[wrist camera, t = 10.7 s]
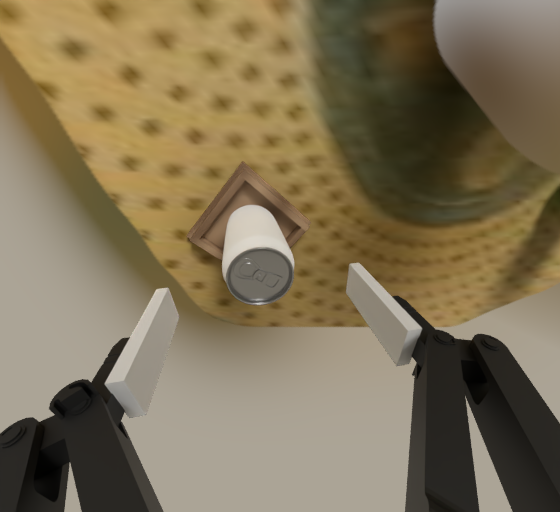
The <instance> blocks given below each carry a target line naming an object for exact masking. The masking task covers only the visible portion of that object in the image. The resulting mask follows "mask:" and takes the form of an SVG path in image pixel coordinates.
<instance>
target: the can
mask: <svg viewBox="0 0 560 512" xmlns="http://www.w3.org/2000/svg"><path fill="white" fill-rule="evenodd" d="M222 273H223V277H224V280H225V282H226V284H227V287H228V289H229V291H230V292H231V294H232V295H233V296H234V297H235V298H236V299H238V300H239V301H241V302H243V303H246V304H250V305H265V304H269V303H272V302H275V301H277V300H278V299H280V298H281V297H283V296H284V295H285V294H286V293H287V292H288V290H289V289H290V287H291V285H292V283H293V279H294V259H293V255H292V252H291V250H290V248H289V246H288V244H287V242H286V240H285V238H284V236H283V234H282V232H281V230H280V228H279V226H278V224H277V222H276V220H275V218H274V217H273V215H272V214H271V213H270V212H269V211H268V210H267V209H265V208H263V207H261V206H258V205H246V206H243V207H240V208H238V209H237V210H235V211H234V212H233V213H232V214H231V216H230V218H229V220H228V223H227V228H226V235H225V242H224V250H223V259H222Z"/></svg>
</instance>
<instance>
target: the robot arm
mask: <svg viewBox="0 0 560 512" xmlns="http://www.w3.org/2000/svg"><path fill="white" fill-rule="evenodd" d="M346 294H347V295H348V296H349V298H350V299H351V301H352V302H353V304H354V305H355V307H356V308H357V309H358V311H359V312H360V314H361V315H362V317H363V318H364V320H365V321H366V323H367V324H368V325H369V327H370V328H371V330H372V331H373V332H374V334H375V336H376V337H377V338H378V340H379V341H380V343H381V344H382V346H383V347H384V348H385V350H386V351H387V353H388V354H389V356H390V357H391V359H392V360H393V362H394V363H395V364H396V366H400V365H405V364H409V363H410V360H411V358H412V357H413V358H414V360H415V361H416V362H417V364H416V366H415V368H414V371H413V374H412V375H413V376H414V375H415V378H414V392H413V406H412V407H413V408H412V422H411V435H410V449H409V464H408V478H407V492H406V507H405V512H479V504H478V496H477V488H476V480H475V472H474V464H473V456H472V448H471V440H470V432H469V423H468V416H467V407H466V399H465V396H466V398H467V401H468V403H469V406H470V408H471V411H472V413H473V415H474V418H475V420H476V423H477V425H478V428H479V430H480V432H481V435H482V437H483V440H484V442H485V445H486V447H487V450H488V452H489V455H490V457H491V460H492V462H493V464H494V467H495V469H496V472H497V474H498V477H499V479H500V482H501V484H502V486H503V489H504V492H505V494H506V496H507V499H508V501H509V504H510V506H511V509H512V511H513V512H560V423H559V422H558V420H557V419H556V417H555V416H554V415H553V413H552V412H551V410H550V409H549V407H548V406H547V404H546V403H545V401H544V400H543V399H542V397H541V396H540V394H539V393H538V391H537V390H536V388H535V387H534V386H533V384H532V383H531V381H530V380H529V378H528V377H527V375H526V374H525V373H524V371H523V370H522V368H521V367H520V365H519V364H518V363H517V361H516V360H515V358H514V357H513V355H512V354H511V353H510V351H509V350H508V348H507V347H506V346H505V345H504V344H503V343H502V342H501V341H499V340H498V339H496V338H494V337H491V336H489V335H485V334H477V335H475V336H474V337H473V339H472V340H461V339H455V338H454V337H453V336H451V335H450V334H449V333H447V332H444V331H440V330H435V329H434V328H433V327H432V326H431V325H430V324H429V323H428V322H427V321H426V320H425V319H424V318H423V317H422V316H421V315H420V314H419V313H418V312H416V310H415V309H414V308H413V307H411V305H410V304H409V303H408V302H407V301H406V300H404V299H402V298H401V297H399V296H391V295H390V294H389V293H388V292H387V291H386V290H385V289H384V288H383V287H382V286H381V285H380V284H379V283H378V282H377V281H376V280H375V279H374V278H373V277H372V276H371V275H370V274H369V272H368V271H367V270H366V269H365V268H364V267H363V266H362V265H361V264H360V263H352V264H349V272H348V280H347V288H346ZM178 320H179V315H178V312H177V310H176V307H175V304H174V301H173V299H172V296H171V293H170V291H169V288H162V289H157V290H156V291H155V293H154V295H153V297H152V299H151V300H150V302H149V304H148V306H147V308H146V310H145V311H144V313H143V315H142V317H141V319H140V320H139V322H138V324H137V326H136V328H135V330H134V331H133V333H132V335H131V337H129V338H122V339H121V340H120V341H119V342H118V343H117V344H116V345H114V346H113V348H112V349H111V351H110V353H109V354H108V357H107V358H106V359H105V361H104V364H103V365H102V366H101V368H100V369H99V371H98V372H97V374H96V376H95V377H94V379H93V381H92V382H90V381H89V380H83V379H82V380H78V381H75V382H73V383H71V384H69V385H67V386H66V387H64V388H63V389H62V390H61V391H59V392H58V393H57V394H56V395H55V396H54V398H53V399H52V401H51V403H50V407H49V409H50V410H51V411H52V412H53V413H54V414H55V415H54V416H52V417H50V418H47V419H45V420H43V421H41V422H38V421H37V420H36V419H34V418H25V419H22V420H20V421H17V422H16V423H14V424H13V425H11V426H9V427H8V428H7V429H5V430H4V431H3V432H2V433H1V434H0V512H64V507H65V499H66V489H67V481H68V472H69V462H70V463H71V467H72V471H73V476H74V480H75V484H76V488H77V492H78V497H79V501H80V506H81V510H82V512H163V510H162V507H161V505H160V503H159V501H158V499H157V497H156V494H155V492H154V490H153V488H152V486H151V484H150V481H149V479H148V477H147V475H146V473H145V470H144V469H143V466H142V464H141V462H140V460H139V458H138V455H137V453H136V451H135V449H134V447H133V445H132V442H131V440H130V438H129V436H128V434H127V431H126V429H125V427H124V425H123V423H122V422H121V419H122V417H123V414H124V412H125V413H126V414H127V416H128V417H129V418H133V417H138V416H143V415H146V414H147V411H148V408H149V405H150V402H151V399H152V396H153V394H154V391H155V388H156V385H157V382H158V379H159V376H160V373H161V370H162V367H163V364H164V361H165V358H166V355H167V352H168V349H169V346H170V343H171V340H172V337H173V335H174V332H175V328H176V326H177V322H178Z"/></svg>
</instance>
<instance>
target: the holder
mask: <svg viewBox="0 0 560 512" xmlns="http://www.w3.org/2000/svg"><path fill="white" fill-rule="evenodd" d="M246 205H258V206H261V207H263V208H265V209H267V210H268V211H269V212H270V213H271V214H272V215H273V217H274V218H275V220H276V222H277V224H278V226H279V228H280V230H281V232H282V234H283V236H284V238H285V240H286V242H287V244H288V246H289V248H291V247H292V246H293V245H294V244H295V243H296V241H297V240H298V239H299V238H300V237H301V236H302V235H303V234H304V233H305V232H306V231H307V230H308V228H309V227H310V226H309V225H310V224H311V222H310V221H309V220H308V219H307V218H306V217H305V216H304V215H303V214H301V213H300V212H299V211H298V210H297V209H296V208H295V207H294V206H292V205H291V204H290V203H289V202H288V201H287V200H286V199H285V198H283V197H282V196H281V195H280V194H279V193H278V192H277V191H276V190H275V189H273V188H272V187H271V186H270V185H269V184H268V183H267V182H266V181H264V180H263V179H262V178H261V177H260V176H259V175H258V174H257V173H255V172H254V171H253V170H252V169H251V168H250V167H249V166H248V165H246V164H245V163H244V162H243V161H242V163H241V164H240V165H239V167H238V168H237V169H236V171H235V172H234V173H233V175H232V176H231V177H230V179H229V180H228V181H227V183H226V184H225V185H224V187H223V188H222V189H221V191H220V192H219V193H218V194H217V196H216V197H215V198H214V200H213V201H212V202H211V204H210V205H209V206H208V208H207V209H206V210H205V212H204V213H203V214H202V216H201V217H200V218H199V220H198V221H197V222H196V224H195V225H194V226H193V228H192V229H191V230H190V232H189V233H188V234H187V236H186V237H188V238H190V240H189V241H191V242H192V243H194V244H196V245H197V246H199V247H201V248H202V249H204V250H205V251H207V252H209V253H210V254H212V255H213V256H215V257H217V258H218V259H220V260H221V261H222V259H223V250H224V242H225V235H226V228H227V223H228V220H229V218H230V216H231V214H232V213H233V212H234V211H235V210H237V209H238V208H240V207H243V206H246Z"/></svg>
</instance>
